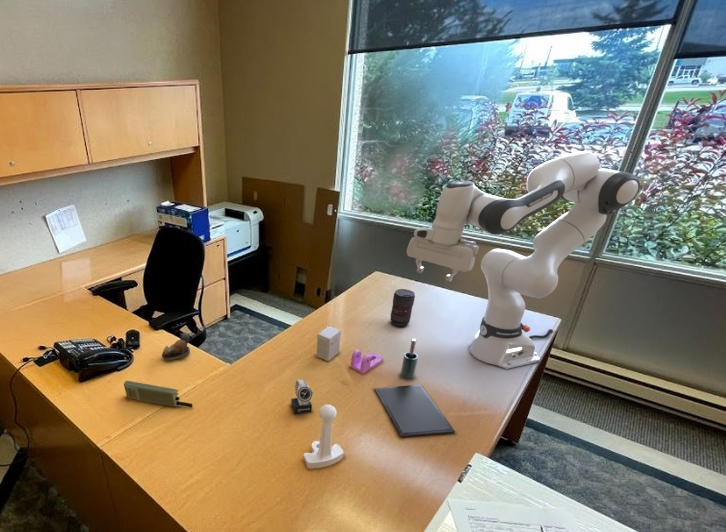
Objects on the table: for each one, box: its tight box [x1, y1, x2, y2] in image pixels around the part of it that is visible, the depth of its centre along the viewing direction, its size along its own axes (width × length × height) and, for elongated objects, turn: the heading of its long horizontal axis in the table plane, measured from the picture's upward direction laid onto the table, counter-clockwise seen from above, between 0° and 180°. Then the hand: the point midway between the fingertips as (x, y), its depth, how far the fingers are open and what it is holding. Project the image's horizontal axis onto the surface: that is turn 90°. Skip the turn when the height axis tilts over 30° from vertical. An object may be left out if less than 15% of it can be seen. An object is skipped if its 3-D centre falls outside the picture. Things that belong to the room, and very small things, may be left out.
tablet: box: [374, 384, 455, 438], centre depth 133 cm, size 16×22×1 cm
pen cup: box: [400, 351, 419, 380], centre depth 146 cm, size 4×4×9 cm
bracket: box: [350, 349, 383, 374], centre depth 154 cm, size 13×6×7 cm, turn 127°
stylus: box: [408, 338, 417, 359], centre depth 144 cm, size 1×1×15 cm
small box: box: [315, 325, 342, 362], centre depth 160 cm, size 8×6×10 cm
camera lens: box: [390, 288, 416, 328], centre depth 175 cm, size 8×8×15 cm
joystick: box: [302, 404, 345, 469], centre depth 114 cm, size 11×8×20 cm
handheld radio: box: [123, 380, 193, 408], centre depth 142 cm, size 7×3×25 cm
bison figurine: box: [161, 332, 191, 361], centre depth 165 cm, size 12×7×10 cm, turn 106°
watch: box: [290, 379, 314, 415], centre depth 134 cm, size 6×8×11 cm
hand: (433, 276), depth 136 cm, fingers open, 8 cm apart
